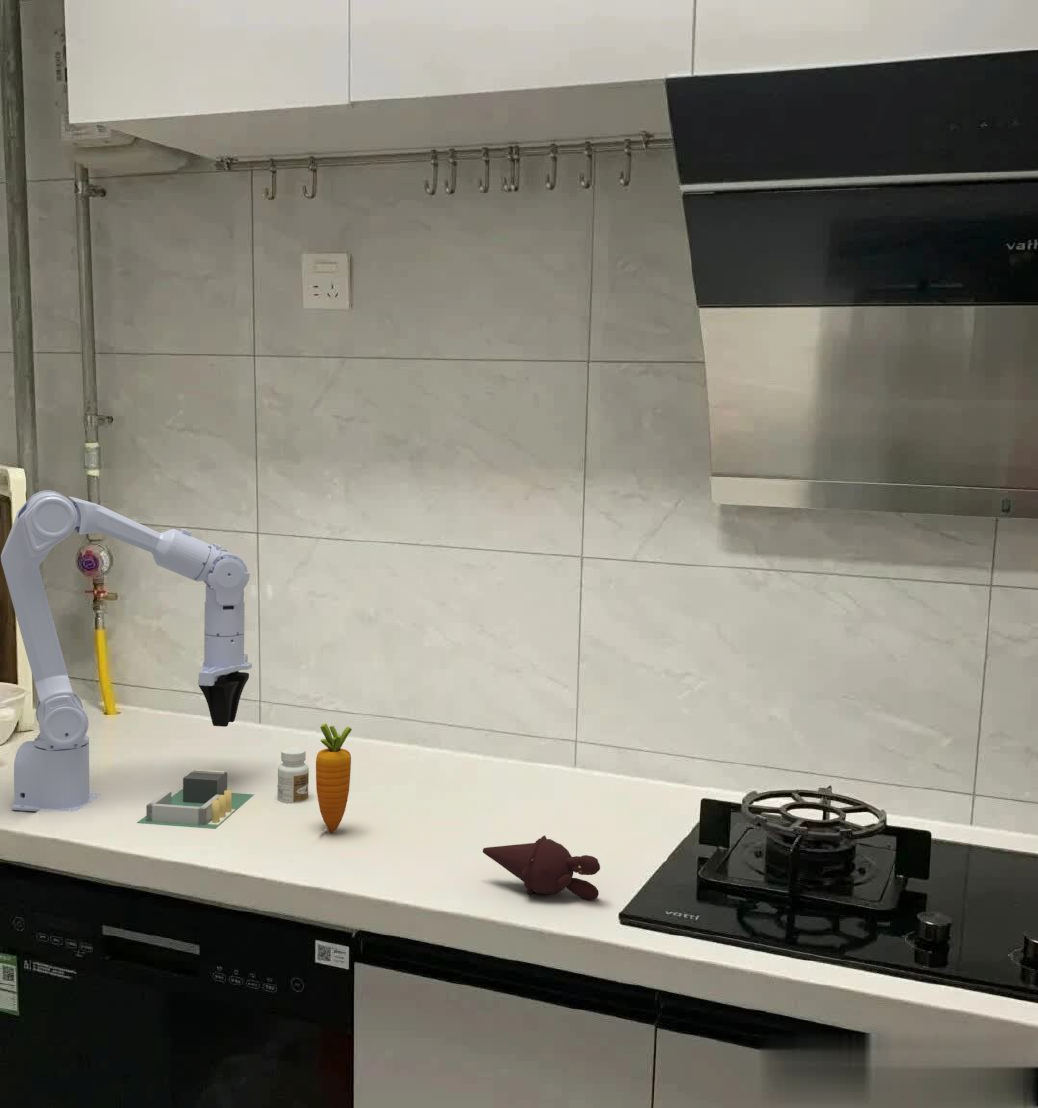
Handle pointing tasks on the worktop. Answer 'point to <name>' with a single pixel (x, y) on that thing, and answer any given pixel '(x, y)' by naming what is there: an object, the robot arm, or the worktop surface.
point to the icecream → (547, 867)
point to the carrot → (333, 776)
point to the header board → (193, 810)
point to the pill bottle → (293, 776)
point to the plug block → (203, 785)
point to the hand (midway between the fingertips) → (223, 723)
